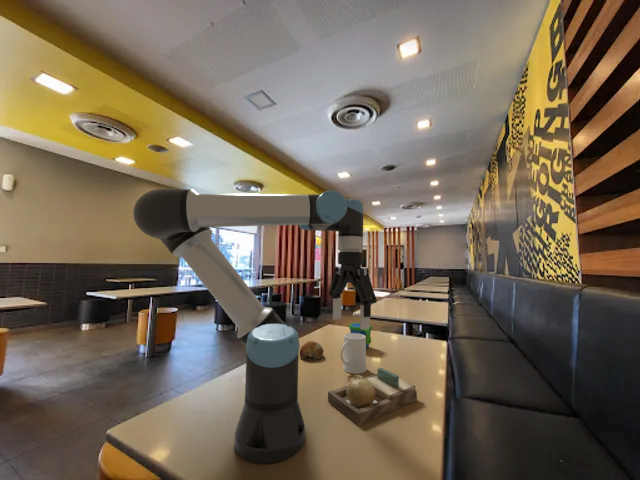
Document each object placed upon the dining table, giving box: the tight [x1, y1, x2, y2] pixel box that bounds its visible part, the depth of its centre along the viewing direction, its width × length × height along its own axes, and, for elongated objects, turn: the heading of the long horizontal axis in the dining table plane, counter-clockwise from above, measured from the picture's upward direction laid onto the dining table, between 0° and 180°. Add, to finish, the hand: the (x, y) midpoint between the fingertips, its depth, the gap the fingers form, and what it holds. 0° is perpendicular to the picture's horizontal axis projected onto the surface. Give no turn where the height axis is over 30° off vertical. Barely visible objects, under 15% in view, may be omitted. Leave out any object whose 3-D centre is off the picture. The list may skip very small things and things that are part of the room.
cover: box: [366, 367, 416, 398], centre depth 79 cm, size 11×11×4 cm
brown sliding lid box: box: [327, 373, 418, 426], centre depth 75 cm, size 22×13×4 cm, turn 123°
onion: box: [346, 374, 375, 408], centre depth 73 cm, size 8×8×7 cm
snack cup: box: [348, 322, 373, 349], centre depth 124 cm, size 16×10×10 cm
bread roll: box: [299, 340, 324, 361], centre depth 111 cm, size 10×10×8 cm
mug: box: [340, 332, 367, 375], centre depth 97 cm, size 12×8×12 cm
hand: (349, 323), depth 78 cm, fingers open, 13 cm apart
